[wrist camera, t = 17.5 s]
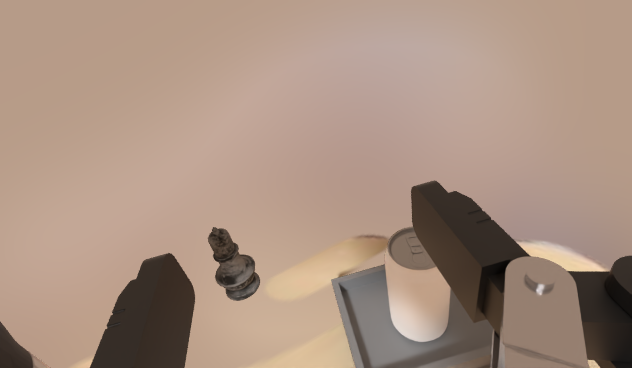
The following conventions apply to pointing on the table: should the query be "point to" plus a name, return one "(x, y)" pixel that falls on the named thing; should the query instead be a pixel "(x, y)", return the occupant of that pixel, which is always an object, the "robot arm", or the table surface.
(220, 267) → the salt shaker
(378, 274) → the tray
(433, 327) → the can
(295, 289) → the table surface
